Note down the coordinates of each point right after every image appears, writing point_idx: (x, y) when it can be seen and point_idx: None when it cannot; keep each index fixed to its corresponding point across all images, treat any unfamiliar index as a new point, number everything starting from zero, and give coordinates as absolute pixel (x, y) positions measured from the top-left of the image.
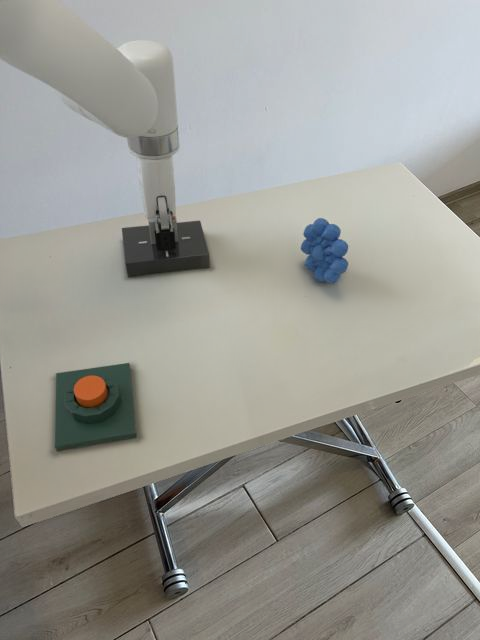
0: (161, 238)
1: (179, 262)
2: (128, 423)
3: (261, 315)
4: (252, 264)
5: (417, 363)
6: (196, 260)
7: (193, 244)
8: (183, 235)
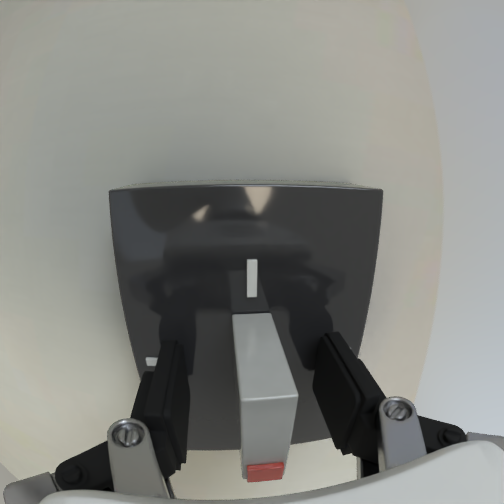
0: (134, 410)
1: None
2: None
3: (47, 436)
4: (182, 467)
5: None
6: None
7: (213, 429)
8: None
